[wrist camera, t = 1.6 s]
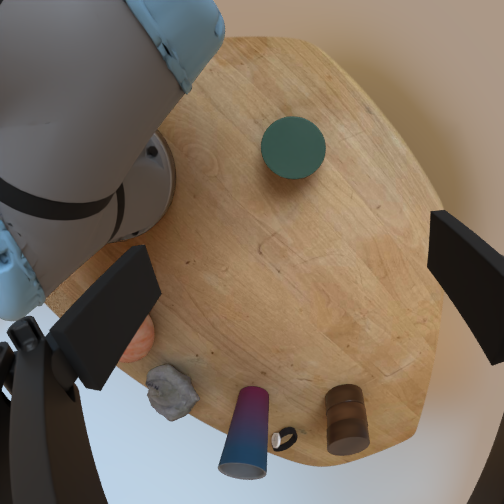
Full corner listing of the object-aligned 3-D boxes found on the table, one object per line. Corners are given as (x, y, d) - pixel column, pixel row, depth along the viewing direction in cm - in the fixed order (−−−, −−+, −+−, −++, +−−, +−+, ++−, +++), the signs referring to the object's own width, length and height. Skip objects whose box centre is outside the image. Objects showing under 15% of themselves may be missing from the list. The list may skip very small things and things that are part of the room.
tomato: (93, 277, 40) (64, 307, 33) (157, 286, 39) (132, 322, 32) (109, 333, 45) (86, 365, 38) (167, 345, 44) (149, 382, 37)
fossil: (181, 348, 44) (164, 386, 37) (219, 382, 46) (209, 420, 39) (140, 368, 48) (123, 402, 41) (176, 398, 50) (164, 431, 43)
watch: (270, 456, 50) (263, 443, 53) (289, 450, 52) (281, 438, 55) (284, 438, 47) (275, 423, 50) (304, 432, 49) (295, 419, 52)
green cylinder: (255, 160, 31) (251, 165, 28) (276, 108, 28) (274, 106, 25) (308, 181, 31) (310, 189, 28) (330, 130, 28) (335, 132, 25)
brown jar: (317, 402, 46) (318, 453, 37) (337, 380, 43) (342, 434, 34) (349, 409, 47) (354, 458, 37) (370, 388, 44) (380, 439, 34)
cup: (262, 378, 45) (251, 461, 31) (280, 401, 47) (274, 477, 34) (226, 387, 47) (208, 464, 33) (246, 408, 49) (233, 480, 36)
